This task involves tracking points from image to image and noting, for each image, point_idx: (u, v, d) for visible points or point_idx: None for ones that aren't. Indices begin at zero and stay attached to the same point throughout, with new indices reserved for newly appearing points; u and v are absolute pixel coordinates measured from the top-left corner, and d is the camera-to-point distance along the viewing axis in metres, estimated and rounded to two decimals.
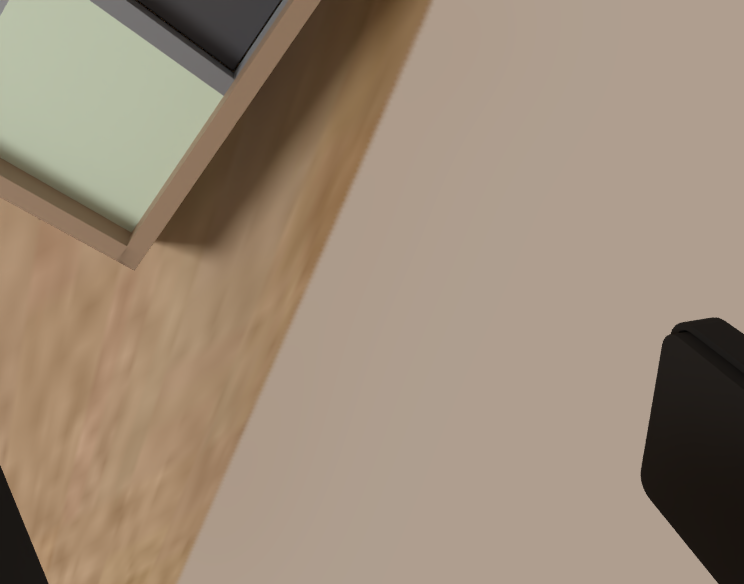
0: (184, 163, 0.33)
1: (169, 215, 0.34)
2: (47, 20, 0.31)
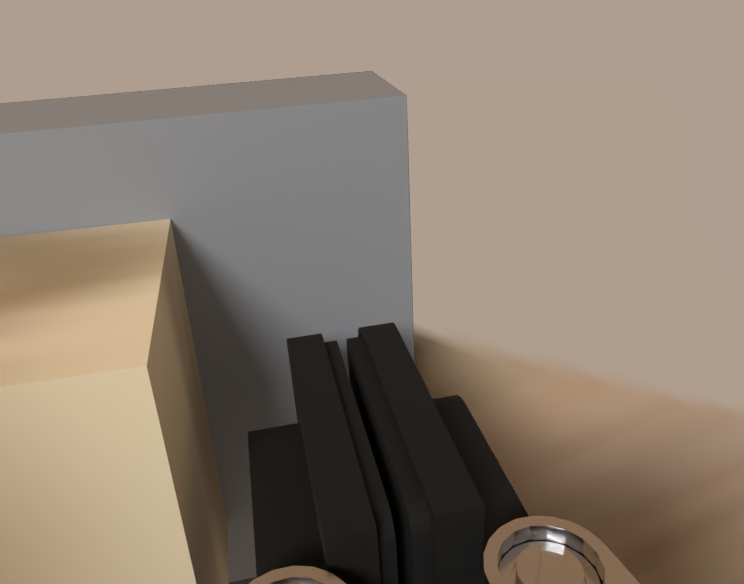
0: None
1: None
2: None
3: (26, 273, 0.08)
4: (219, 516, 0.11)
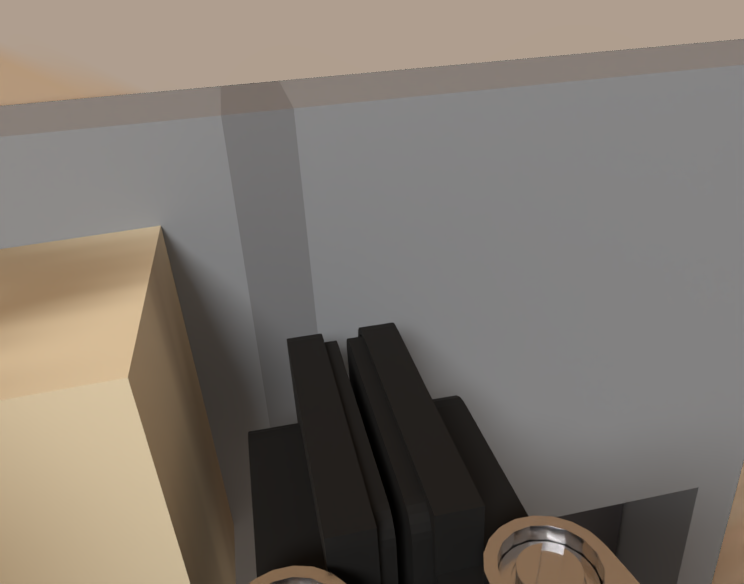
0: None
1: None
2: None
3: (14, 286, 0.08)
4: (223, 520, 0.11)
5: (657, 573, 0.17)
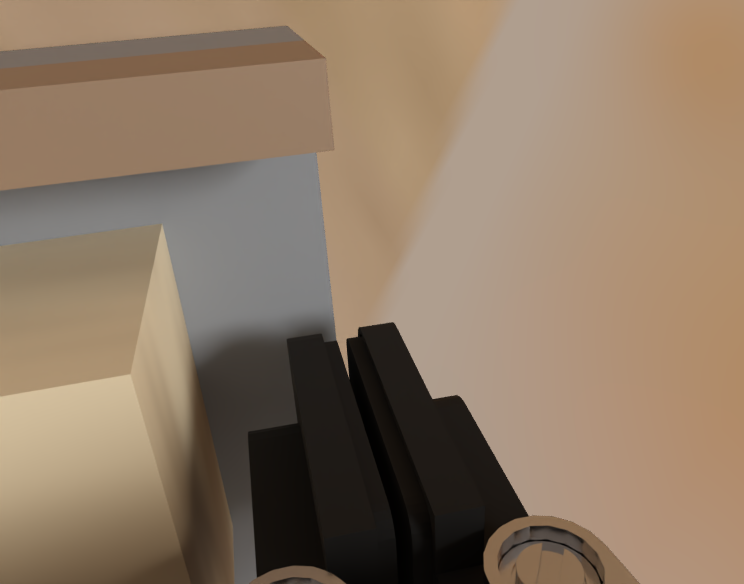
0: None
1: None
2: None
3: (217, 519, 0.10)
4: None
5: None
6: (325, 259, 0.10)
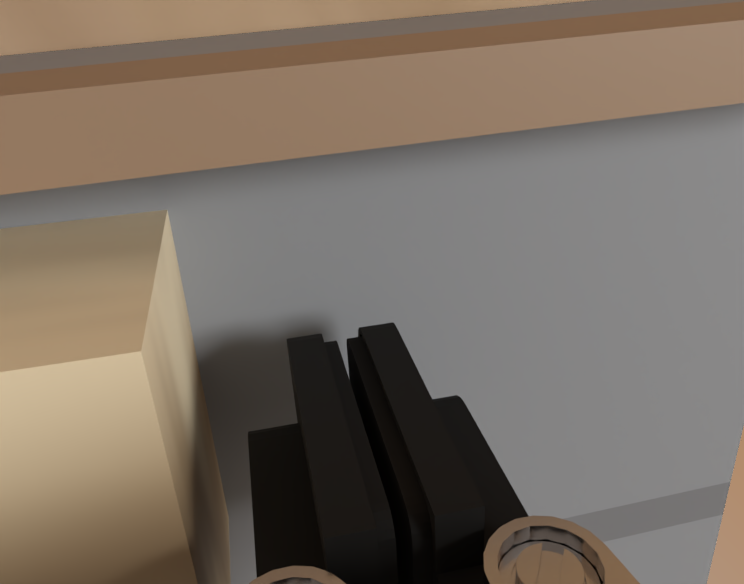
0: None
1: None
2: None
3: (215, 507, 0.10)
4: None
5: None
6: None
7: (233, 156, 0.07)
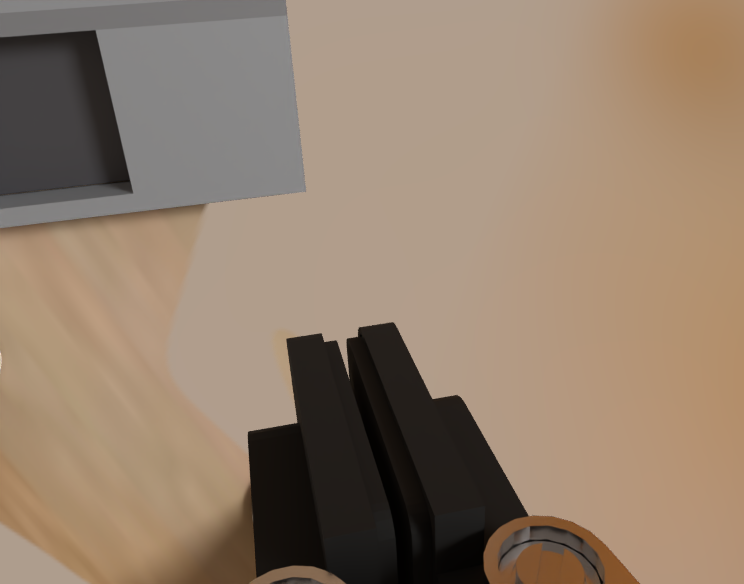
0: None
1: None
2: None
3: None
4: None
5: (64, 197, 0.34)
6: None
7: None
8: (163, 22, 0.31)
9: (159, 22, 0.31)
